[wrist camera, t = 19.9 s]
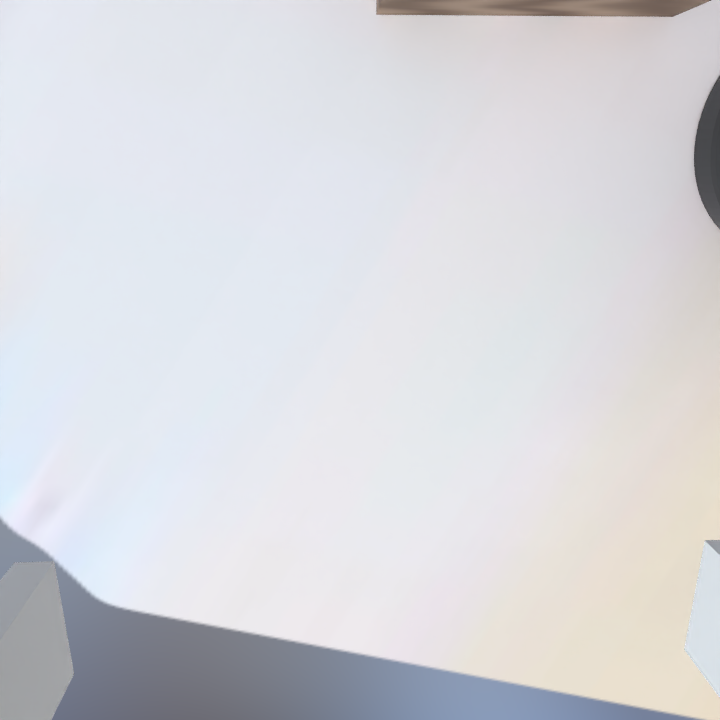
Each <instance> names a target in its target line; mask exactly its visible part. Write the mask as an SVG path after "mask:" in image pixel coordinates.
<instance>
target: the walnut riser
mask: <svg viewBox="0 0 720 720" xmlns="http://www.w3.org/2000/svg"><path fill="white" fill-rule="evenodd" d="M709 1H711V0H377V15H515V16H659V17H673V16H675V15H678V14H680V13H683V12H685V11H687V10H690V9H692V8H694V7H697V6H699V5H701V4H704V3H706V2H709Z"/></svg>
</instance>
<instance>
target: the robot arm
mask: <svg viewBox="0 0 720 720" xmlns="http://www.w3.org/2000/svg"><path fill="white" fill-rule="evenodd" d="M694 167H695V177H696V182H697V187H698V191H699V194H700V197H701V200H702V202H703V204H704V207H705V208H706V210H707V212H708V214H709V216H710V217H711V219H712V220H713V221H714V223H715V224H716V225H717V226H718V228H719V229H720V77H719V79H718V80H717V82H716V84H715V85H714V87H713V89H712V91H711V93H710V95H709V97H708V99H707V101H706V104H705V107H704V109H703V112H702V115H701V118H700V121H699V125H698V129H697V135H696V141H695V151H694ZM684 650H685V651H686V652H687V654H688V655H689V656H690V658H691V659H692V661H693V662H694V663H695V665H696V666H697V667H698V669H699V670H700V671H701V673H702V674H703V676H704V677H705V678H706V680H707V681H708V682H709V684H710V685H711V687H712V688H713V689H714V691H715V692H716V693H717V695H718V696H719V697H720V540H706V541H705V543H704V548H703V553H702V559H701V564H700V569H699V574H698V580H697V585H696V590H695V595H694V601H693V606H692V611H691V617H690V622H689V627H688V632H687V638H686V643H685V648H684ZM73 675H74V671H73V665H72V660H71V654H70V649H69V643H68V637H67V632H66V626H65V620H64V615H63V609H62V604H61V598H60V592H59V587H58V581H57V575H56V570H55V564H54V561H52V562H23V563H22V562H21V563H14V564H13V565H12V566H11V567H10V569H9V570H8V571H7V573H6V574H5V575H4V576H3V577H2V579H1V580H0V720H51V719H52V717H53V715H54V713H55V711H56V709H57V707H58V705H59V703H60V701H61V699H62V697H63V695H64V693H65V691H66V689H67V687H68V685H69V683H70V681H71V679H72V677H73Z"/></svg>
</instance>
